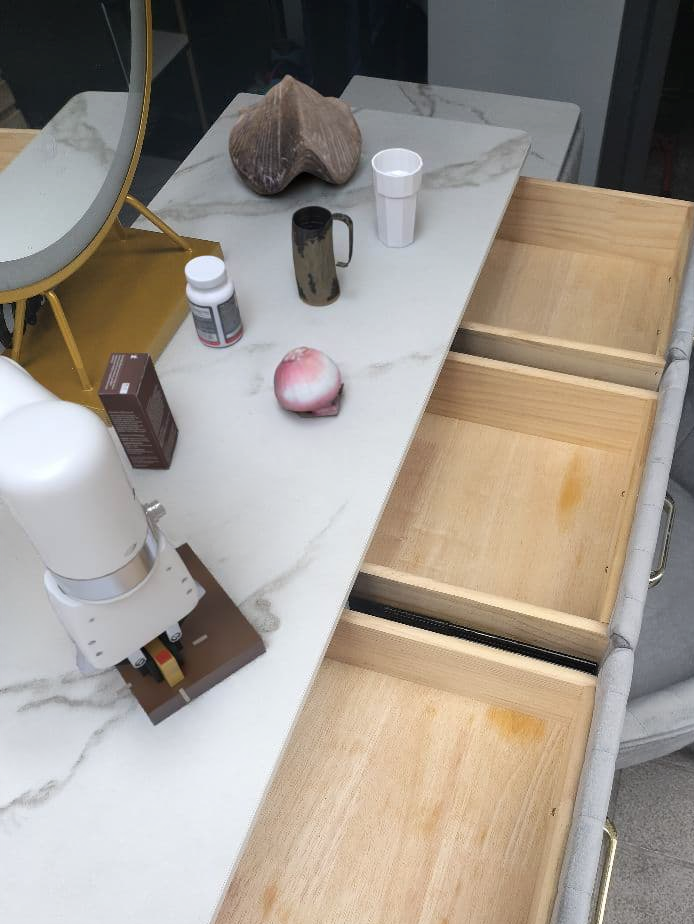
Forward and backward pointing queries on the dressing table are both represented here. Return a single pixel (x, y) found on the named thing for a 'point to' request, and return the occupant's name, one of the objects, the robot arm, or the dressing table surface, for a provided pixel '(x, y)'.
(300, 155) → the seashell
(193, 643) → the panel
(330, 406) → the onion
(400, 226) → the cup
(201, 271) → the pill bottle
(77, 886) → the dressing table surface
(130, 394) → the box
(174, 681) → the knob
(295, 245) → the mug
